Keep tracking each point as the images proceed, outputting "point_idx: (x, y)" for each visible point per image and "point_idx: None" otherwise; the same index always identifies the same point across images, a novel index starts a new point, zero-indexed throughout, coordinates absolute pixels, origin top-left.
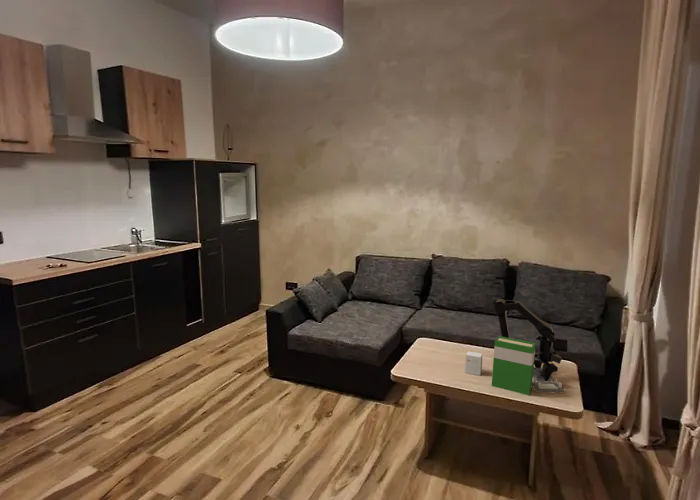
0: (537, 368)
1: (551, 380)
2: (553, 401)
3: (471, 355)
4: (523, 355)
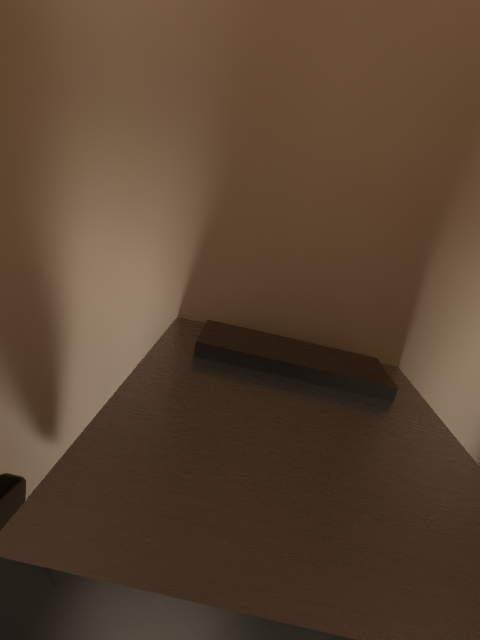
0: None
1: (403, 385)
2: None
3: None
4: None
